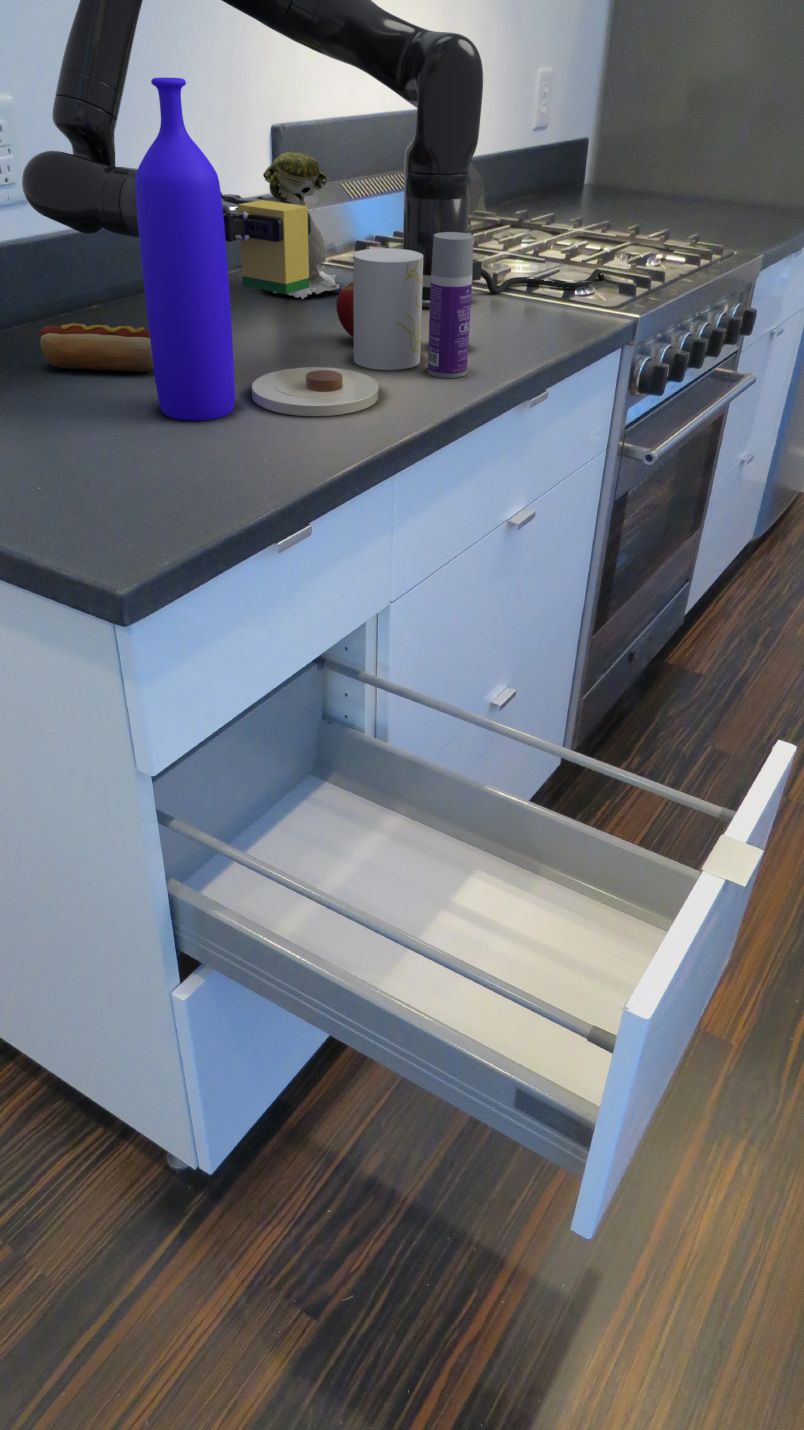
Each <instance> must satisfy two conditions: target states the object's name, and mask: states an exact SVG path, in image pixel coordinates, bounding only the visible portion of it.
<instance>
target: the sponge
mask: <svg viewBox="0 0 804 1430" xmlns="http://www.w3.org/2000/svg"><path fill="white" fill-rule="evenodd" d="M307 209H308V206H307V205H306V206H301V205H294V204H287V203H280V202H273V201H266V200H260V201H254V202H249V203H243V204H238V210H239V211H247V212H249V213H250V214H251V215H252V214H257V215H264V216H271V217H278V218H281V220H282V222H283V240H282V241H279V242H273V241H267V240H261V239H255V238H252V239H248V240H244V239H240V240H239V243H240V245H239V246H240V260H241V277H242V286H243V287H247V288H253V289H257V290H263V291H267V292H273V293H274V292H278V293H277V294H283V295H288V294H289V293H292V292H296V291H299V290H303V289H306V288H309V256H308V211H309V210H308V211H307Z"/></svg>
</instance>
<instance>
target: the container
mask: <svg viewBox="0 0 804 1430" xmlns="http://www.w3.org/2000/svg"><path fill="white" fill-rule="evenodd" d="M474 238H475V237H474V234H473V235H471V234H467V233H459V232H442V233H436V234H434V239H433V255H432V272H431V290H430V308H429V321H428V346H427V348H428V350H427V373H428V375H430V376H432V377H436V378H440V379H456V378H462V377H465V376H466V375H467V372H468V360H469V359H468V355H469V343H470V342H469V341H470V325H471V308H472V293H473V292H472V289H473V281H472V267H473V259H474Z"/></svg>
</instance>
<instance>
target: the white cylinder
mask: <svg viewBox="0 0 804 1430" xmlns="http://www.w3.org/2000/svg"><path fill="white" fill-rule="evenodd" d="M352 257H353V258H352V260H353V265H352V266H353V269H352V270H353V271H352V272H353V278H352V279H353V281H352V282H353V284H354V338H353V362H354V363H355V364H356V365H357V366H360V367H363V368H367V369H372V370H381V371H399V370H406V369H411V368H414V367H416V366H418V365H420V363H421V345H422V343H421V342H422V341H421V339H422V316H423V315H422V313H423V307H422V284H423V255H422V254H421V253H419V252H416V251H411V250H405V249H403V248H393V247H392V248H391V247H390V248H389V247H387V248H386V247H384V248H383V247H379V248H366V249H361V250H357V251H355V252H353V254H352Z"/></svg>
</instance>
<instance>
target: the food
mask: <svg viewBox="0 0 804 1430" xmlns="http://www.w3.org/2000/svg"><path fill="white" fill-rule="evenodd" d="M39 334H40V340H39V344H40V349H41V350H42V353H43V356H44V357H45V359H46V360H47V361H48V362H49V363H50V364H51V365H52V366H53V367H55V368H60V369H71V370H73V369H74V370H92V371H116V372H143V373H144V372H145V373H146V372H151V371H154V366H153V358H152V350H151V342H150V334H149V329H145V328H144V327H143V326H141V327H139V328H134V327H133V326H131V325H119V326H116V327H111V326H110V325H107V324H93V325H90V326H87V325H86V324H84V323H76V322H72V323H69V324H62V325H60V326H58V325H47V326H44V327H42V328H41V330H40V332H39Z"/></svg>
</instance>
